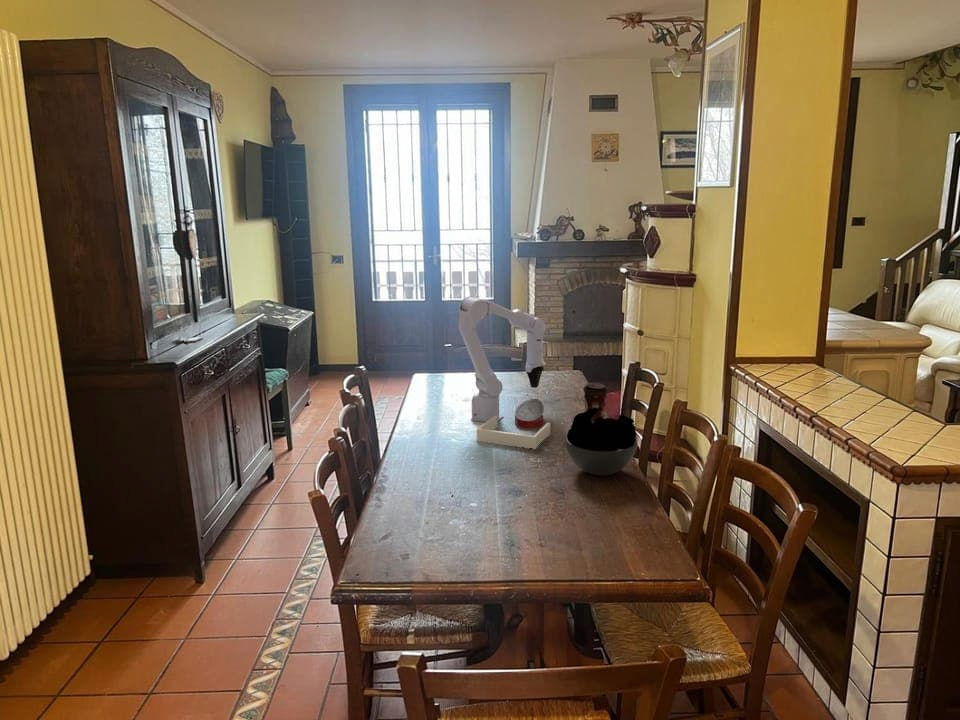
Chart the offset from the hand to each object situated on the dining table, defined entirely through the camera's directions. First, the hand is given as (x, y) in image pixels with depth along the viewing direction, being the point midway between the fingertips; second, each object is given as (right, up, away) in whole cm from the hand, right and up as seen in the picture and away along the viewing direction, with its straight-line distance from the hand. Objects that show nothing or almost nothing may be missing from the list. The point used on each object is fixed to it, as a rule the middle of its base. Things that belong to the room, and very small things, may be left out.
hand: (534, 386), depth 245 cm
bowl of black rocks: (+14, -22, -53) cm, 59 cm away
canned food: (-3, -13, -11) cm, 17 cm away
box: (-9, -16, -24) cm, 30 cm away
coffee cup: (+20, -12, -9) cm, 25 cm away
